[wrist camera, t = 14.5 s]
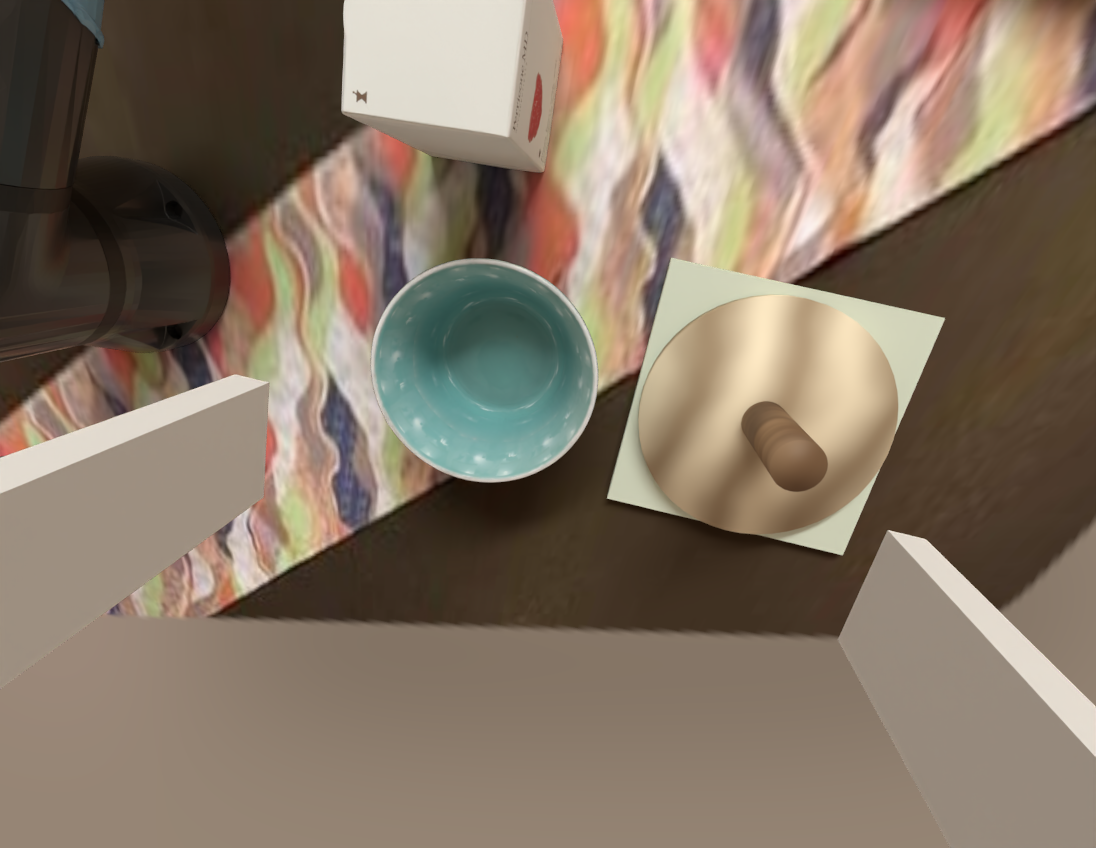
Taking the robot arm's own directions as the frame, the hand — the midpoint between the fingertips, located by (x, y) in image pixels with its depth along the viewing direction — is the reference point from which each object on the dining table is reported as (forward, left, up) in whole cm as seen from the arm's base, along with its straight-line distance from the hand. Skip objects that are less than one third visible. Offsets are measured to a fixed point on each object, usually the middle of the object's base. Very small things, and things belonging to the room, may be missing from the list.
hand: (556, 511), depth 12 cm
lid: (+14, -5, -34) cm, 37 cm away
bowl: (-7, -5, -35) cm, 36 cm away
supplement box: (-11, +13, -35) cm, 39 cm away
